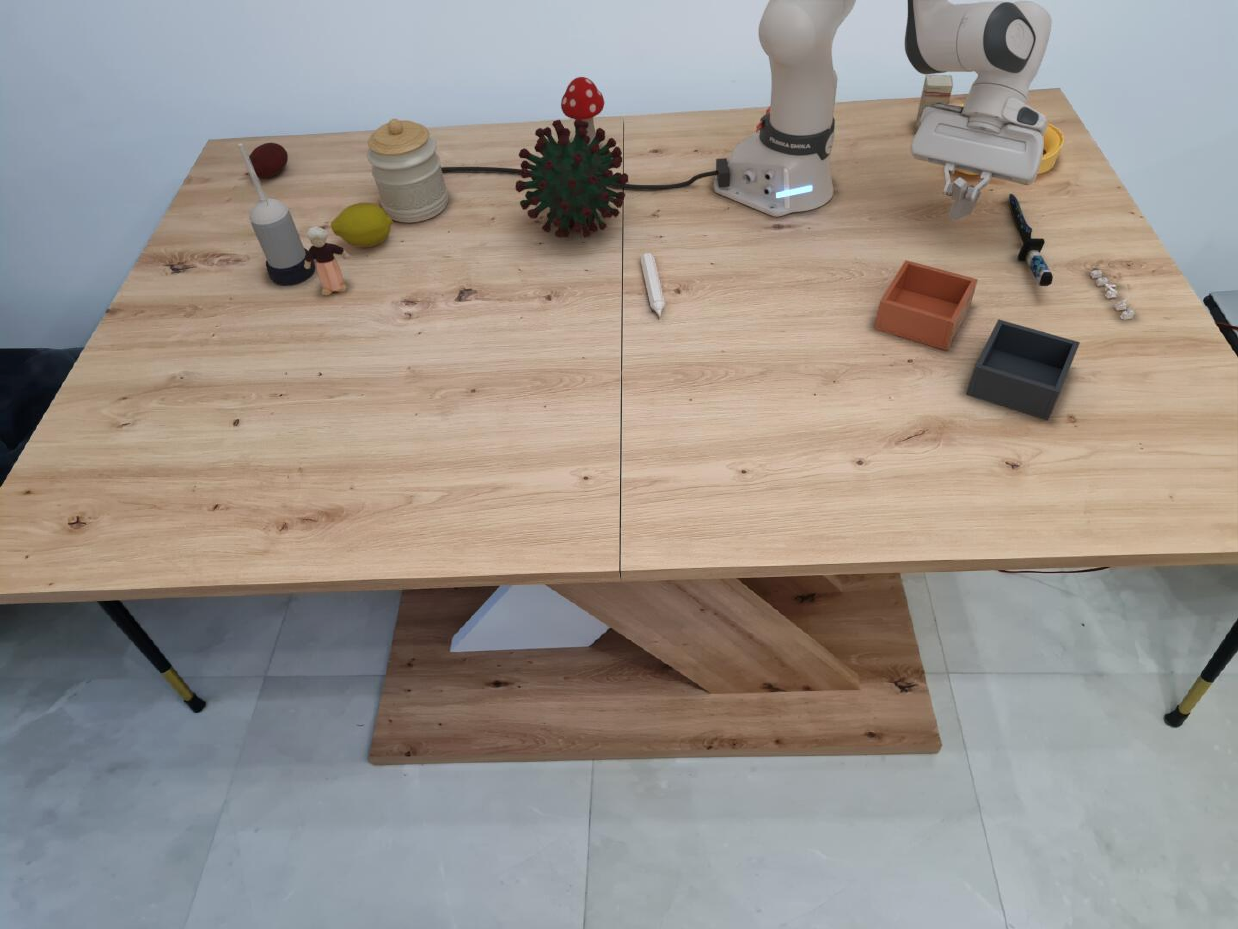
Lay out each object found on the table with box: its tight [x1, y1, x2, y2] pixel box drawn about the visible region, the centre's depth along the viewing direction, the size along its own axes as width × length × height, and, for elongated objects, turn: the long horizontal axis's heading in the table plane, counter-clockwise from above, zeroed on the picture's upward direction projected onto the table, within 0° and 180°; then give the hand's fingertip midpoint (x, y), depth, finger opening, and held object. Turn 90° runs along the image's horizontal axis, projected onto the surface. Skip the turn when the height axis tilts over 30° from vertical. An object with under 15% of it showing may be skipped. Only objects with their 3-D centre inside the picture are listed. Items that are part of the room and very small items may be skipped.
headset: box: [955, 103, 1066, 176], centre depth 169 cm, size 18×21×9 cm
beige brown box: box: [915, 74, 954, 132], centre depth 178 cm, size 5×4×10 cm
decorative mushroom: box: [560, 76, 605, 148], centre depth 179 cm, size 10×9×15 cm
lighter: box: [947, 176, 982, 221], centre depth 148 cm, size 7×2×8 cm, turn 125°
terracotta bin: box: [874, 259, 979, 351], centre depth 142 cm, size 12×12×6 cm
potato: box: [248, 142, 289, 179], centre depth 185 cm, size 8×9×6 cm
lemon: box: [330, 202, 394, 248], centre depth 165 cm, size 11×8×8 cm
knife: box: [1008, 193, 1054, 287], centre depth 152 cm, size 31×3×4 cm, turn 170°
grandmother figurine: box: [304, 225, 350, 296], centre depth 155 cm, size 8×4×13 cm, turn 118°
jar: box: [366, 118, 449, 223], centre depth 169 cm, size 13×13×18 cm
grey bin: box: [966, 319, 1081, 421], centre depth 131 cm, size 12×12×6 cm
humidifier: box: [237, 142, 316, 287], centre depth 155 cm, size 8×8×25 cm
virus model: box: [515, 119, 629, 239], centre depth 159 cm, size 20×20×20 cm
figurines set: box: [1089, 269, 1136, 321], centre depth 143 cm, size 12×3×3 cm, turn 6°
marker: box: [640, 252, 666, 317], centre depth 152 cm, size 3×2×16 cm
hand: (958, 197), depth 147 cm, fingers closed on lighter, 2 cm apart
